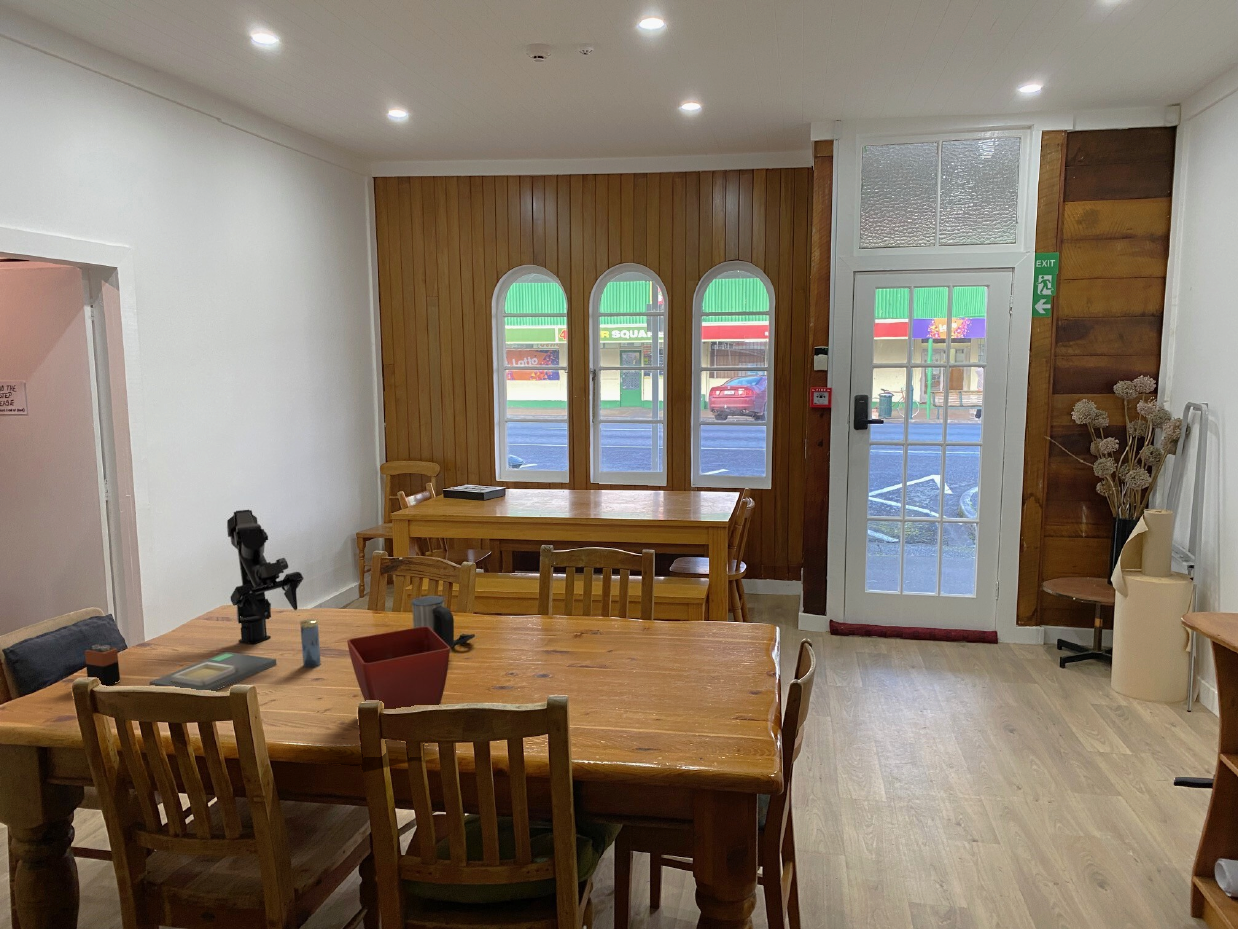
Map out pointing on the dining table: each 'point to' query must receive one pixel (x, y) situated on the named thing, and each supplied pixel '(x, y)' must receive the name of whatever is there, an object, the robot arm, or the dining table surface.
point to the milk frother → (436, 619)
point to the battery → (103, 664)
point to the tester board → (216, 672)
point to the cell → (310, 643)
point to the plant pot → (401, 667)
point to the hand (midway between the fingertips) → (280, 614)
